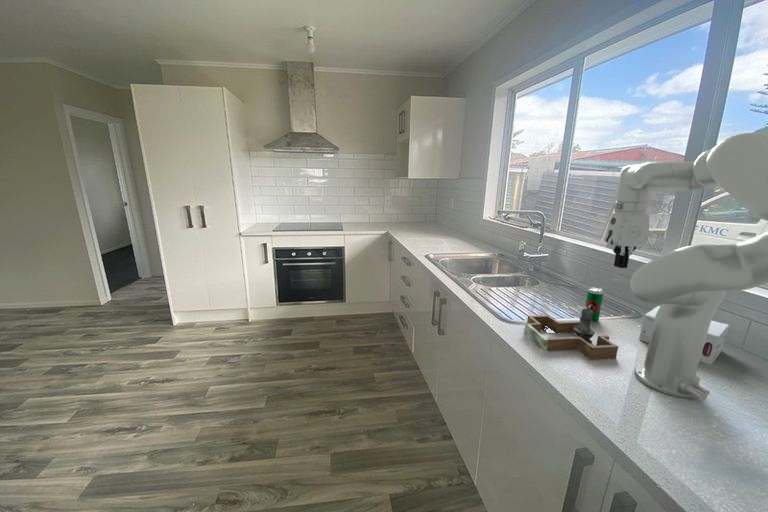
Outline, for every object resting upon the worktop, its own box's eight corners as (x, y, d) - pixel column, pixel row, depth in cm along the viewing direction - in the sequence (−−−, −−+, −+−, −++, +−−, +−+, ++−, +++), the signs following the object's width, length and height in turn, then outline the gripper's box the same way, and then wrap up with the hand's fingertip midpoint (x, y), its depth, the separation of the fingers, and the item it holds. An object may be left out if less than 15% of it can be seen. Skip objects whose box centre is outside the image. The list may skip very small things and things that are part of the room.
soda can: (601, 322, 111) (607, 291, 109) (588, 322, 112) (593, 291, 109) (592, 316, 116) (598, 287, 113) (579, 316, 116) (584, 287, 114)
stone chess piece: (595, 346, 96) (602, 311, 93) (574, 342, 97) (580, 308, 95) (590, 337, 101) (596, 303, 98) (570, 334, 103) (575, 301, 100)
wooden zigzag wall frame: (622, 358, 89) (624, 346, 88) (554, 362, 87) (556, 349, 86) (571, 324, 110) (572, 314, 109) (516, 326, 108) (517, 316, 107)
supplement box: (637, 340, 99) (643, 314, 97) (652, 329, 106) (657, 305, 104) (711, 365, 86) (719, 336, 83) (722, 351, 93) (730, 323, 90)
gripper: (617, 208, 86) (606, 270, 90) (666, 208, 87) (653, 269, 91) (597, 207, 93) (588, 264, 97) (642, 207, 94) (632, 263, 98)
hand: (620, 266), depth 94 cm, fingers closed
